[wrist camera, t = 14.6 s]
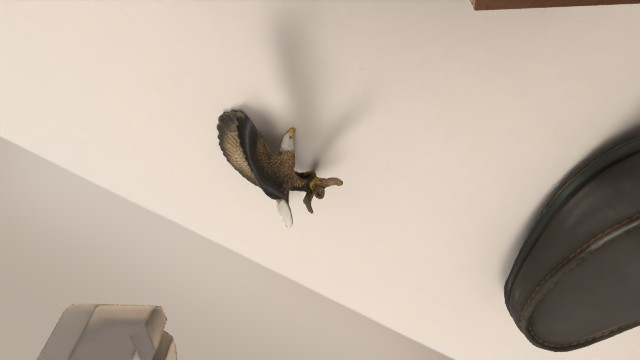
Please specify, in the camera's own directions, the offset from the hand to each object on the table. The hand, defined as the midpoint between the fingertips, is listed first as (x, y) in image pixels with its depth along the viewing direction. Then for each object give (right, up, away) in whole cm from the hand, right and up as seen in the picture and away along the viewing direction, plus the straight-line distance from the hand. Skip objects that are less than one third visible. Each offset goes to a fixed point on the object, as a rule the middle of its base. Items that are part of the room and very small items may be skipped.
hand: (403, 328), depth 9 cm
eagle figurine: (-5, +5, +35) cm, 36 cm away
